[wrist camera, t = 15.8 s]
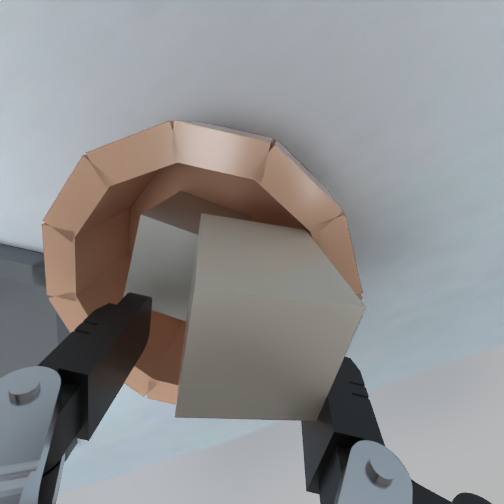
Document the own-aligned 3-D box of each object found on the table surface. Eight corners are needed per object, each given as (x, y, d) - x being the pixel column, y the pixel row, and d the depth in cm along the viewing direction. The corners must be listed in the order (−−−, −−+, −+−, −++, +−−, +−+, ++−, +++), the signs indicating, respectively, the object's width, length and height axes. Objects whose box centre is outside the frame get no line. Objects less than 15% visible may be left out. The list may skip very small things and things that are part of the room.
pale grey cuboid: (180, 190, 14) (140, 214, 10) (251, 216, 15) (240, 250, 10) (164, 255, 16) (122, 300, 12) (228, 278, 16) (211, 330, 12)
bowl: (117, 102, 14) (32, 88, 9) (366, 158, 14) (412, 174, 9) (111, 312, 18) (52, 376, 14) (299, 354, 18) (306, 434, 14)
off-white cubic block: (201, 213, 10) (195, 288, 6) (305, 230, 10) (366, 307, 6) (187, 305, 11) (174, 417, 7) (280, 314, 12) (316, 420, 8)
